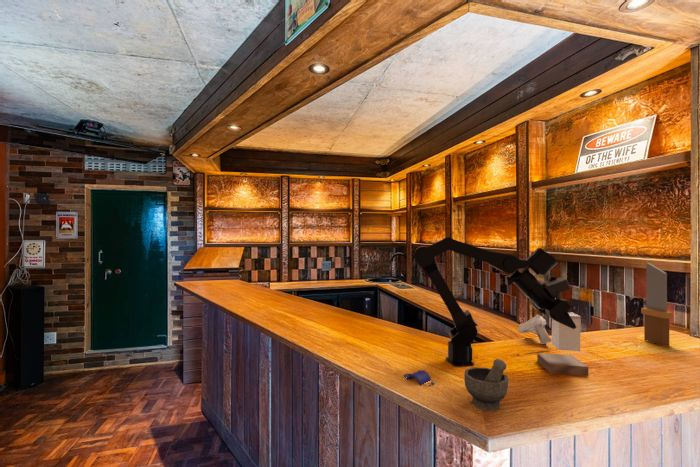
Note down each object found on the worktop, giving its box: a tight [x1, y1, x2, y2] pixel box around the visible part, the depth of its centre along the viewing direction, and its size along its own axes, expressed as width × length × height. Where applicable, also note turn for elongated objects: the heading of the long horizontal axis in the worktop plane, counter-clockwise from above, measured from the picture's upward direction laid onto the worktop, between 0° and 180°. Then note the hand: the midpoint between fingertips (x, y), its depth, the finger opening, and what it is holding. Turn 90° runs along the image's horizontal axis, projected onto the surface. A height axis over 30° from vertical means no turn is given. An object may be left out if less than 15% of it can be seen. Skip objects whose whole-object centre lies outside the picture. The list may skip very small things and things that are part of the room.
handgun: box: [517, 314, 552, 345], centre depth 136 cm, size 20×4×11 cm, turn 1°
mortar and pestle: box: [463, 358, 509, 412], centre depth 81 cm, size 11×9×12 cm
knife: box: [640, 262, 674, 346], centre depth 131 cm, size 8×4×30 cm, turn 9°
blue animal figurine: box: [402, 369, 436, 387], centre depth 95 cm, size 9×5×3 cm, turn 43°
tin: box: [551, 311, 582, 352], centre depth 103 cm, size 6×6×10 cm
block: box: [536, 352, 589, 376], centre depth 105 cm, size 10×10×3 cm
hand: (570, 325), depth 103 cm, fingers closed on tin, 6 cm apart
